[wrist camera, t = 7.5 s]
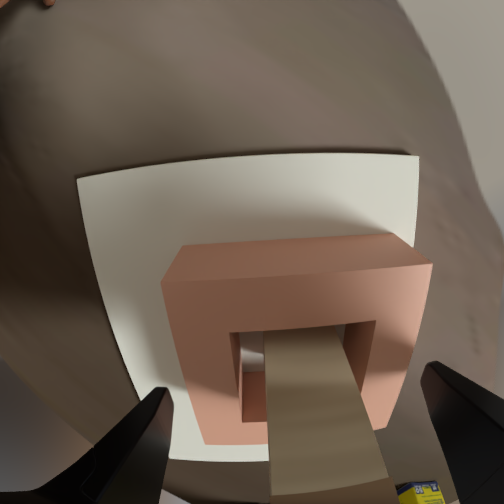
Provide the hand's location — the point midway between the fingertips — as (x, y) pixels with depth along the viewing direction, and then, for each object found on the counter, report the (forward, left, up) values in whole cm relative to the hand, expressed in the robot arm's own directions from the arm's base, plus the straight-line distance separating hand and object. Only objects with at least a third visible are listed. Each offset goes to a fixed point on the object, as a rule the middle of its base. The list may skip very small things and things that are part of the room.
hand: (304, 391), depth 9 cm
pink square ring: (0, 0, -4) cm, 4 cm away
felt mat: (-2, +1, -4) cm, 5 cm away
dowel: (0, 0, -4) cm, 4 cm away
